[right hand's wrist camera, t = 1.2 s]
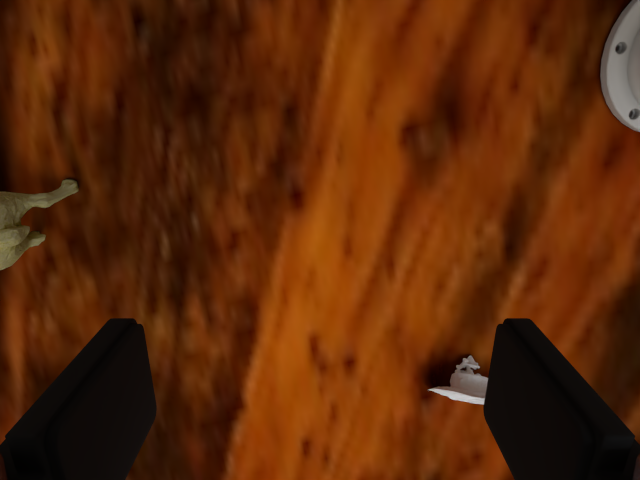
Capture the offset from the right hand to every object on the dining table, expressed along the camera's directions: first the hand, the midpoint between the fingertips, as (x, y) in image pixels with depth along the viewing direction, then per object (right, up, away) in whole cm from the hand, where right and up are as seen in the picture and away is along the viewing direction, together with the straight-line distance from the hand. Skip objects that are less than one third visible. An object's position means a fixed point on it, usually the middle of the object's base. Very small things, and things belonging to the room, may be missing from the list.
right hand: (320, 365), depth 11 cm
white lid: (+15, -11, +34) cm, 39 cm away
